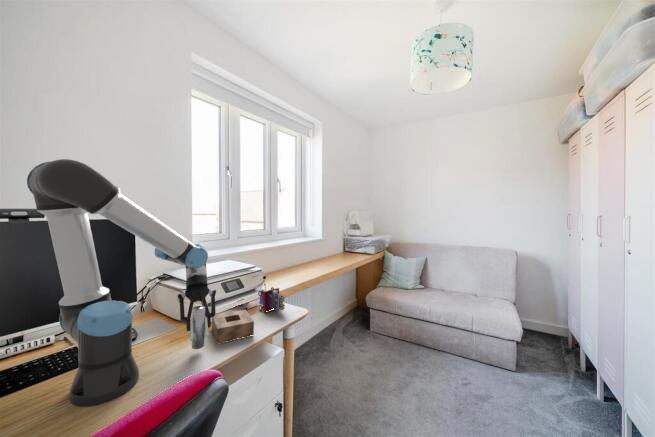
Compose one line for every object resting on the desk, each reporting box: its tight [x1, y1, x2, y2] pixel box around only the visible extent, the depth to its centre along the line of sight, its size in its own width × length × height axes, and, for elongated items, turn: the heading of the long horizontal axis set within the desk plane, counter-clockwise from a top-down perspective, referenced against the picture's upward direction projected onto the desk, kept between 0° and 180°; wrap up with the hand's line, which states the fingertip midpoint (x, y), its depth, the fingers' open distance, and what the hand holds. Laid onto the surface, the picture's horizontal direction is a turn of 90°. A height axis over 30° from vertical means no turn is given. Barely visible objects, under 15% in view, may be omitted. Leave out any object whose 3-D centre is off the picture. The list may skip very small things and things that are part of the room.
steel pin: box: [191, 305, 206, 350], centre depth 93 cm, size 4×4×14 cm
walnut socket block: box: [211, 309, 255, 345], centre depth 109 cm, size 14×14×6 cm
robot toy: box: [257, 275, 286, 314], centre depth 133 cm, size 17×9×20 cm
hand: (199, 338), depth 90 cm, fingers closed on steel pin, 4 cm apart
